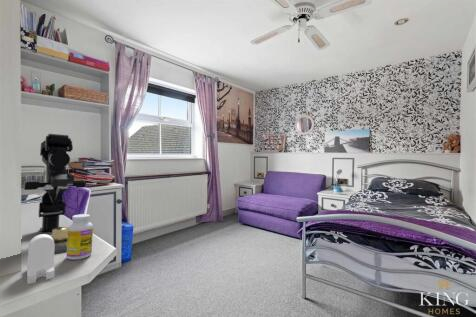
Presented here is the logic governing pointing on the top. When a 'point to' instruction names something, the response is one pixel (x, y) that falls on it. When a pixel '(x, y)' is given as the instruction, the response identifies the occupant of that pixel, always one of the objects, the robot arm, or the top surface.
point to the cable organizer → (40, 258)
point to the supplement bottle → (79, 237)
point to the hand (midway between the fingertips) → (55, 206)
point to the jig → (60, 247)
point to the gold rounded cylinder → (60, 234)
